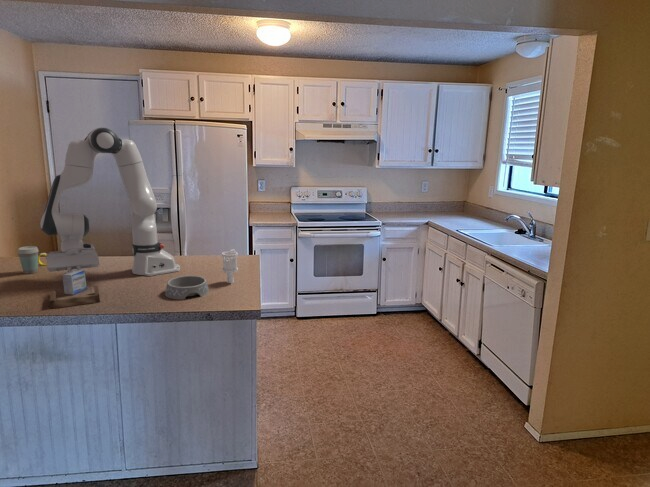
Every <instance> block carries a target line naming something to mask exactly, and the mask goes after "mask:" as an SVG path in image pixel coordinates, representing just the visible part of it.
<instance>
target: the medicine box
mask: <svg viewBox="0 0 650 487" xmlns="http://www.w3.org/2000/svg"><path fill="white" fill-rule="evenodd" d="M86 280H87V279H86V271H85V270H83V269H81V270H77V269H73V270H71V272H67V273H64V274H62V282H63V291H64V294H65V295H71V296H74V295H77V294H79V293H82V292H83V291H86V290H87V289H88V288H87V281H86Z"/></svg>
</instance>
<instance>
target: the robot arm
mask: <svg viewBox="0 0 650 487" xmlns="http://www.w3.org/2000/svg"><path fill="white" fill-rule="evenodd" d="M98 154H111V155H112V157H114V159H115V162H116V165H117V169H118V172H119V175H120V178H121V181H122V184H123V186H124V189H125V192H126V195H127V196H128V208H129V214H130V215H129V216H130V224H131V230H132V231H131V233H132V245H131V249H132V255H133V262H132V269H131V273H132V274H133V275H139V276H147V277H151V276H158V275H159V276H160V275H164V274H169V273H170V274H171V273H175V272H179V271H180V270H181V266H180V265H179V264H178V263H176V259H175V258H174V256H173V255H172V254H171V253H169V252H167V251H166V250H164V248H165V245H164V244H162V243H161V242H160V241H158V230H157V229H158V228H157V223H156V218H155V217H156V216H155V213H156V212H157V209H158V204H157V200H156V197H155V196H156V195H154V191H153V189H152V185H151V183H150V180H149V177H148V174H147V171H146V168H145V165H144V161H143V159H142V156H141V153H140V151H139V149H138V146H137V145H136V143H135V141H134V140H131V139H127V138H124V139H121V137H119V136H118V135H117V134H116V133H115V132H114V131H113V130H111V128H108V127H96V128H94V129H92V130H91V131H90V132H89V133H88V134H87V136H86V137H85V138H84V139H83V140H81V139H75V140H73V141H70V142H69V144H68V147H67V149H66V153H65V160H64V167H63V170H62V172H61V173H60V174H58V175H56V176H55V177H54V179H53V182H52V184H51V188H50V191H49V194H48V198H47V201H46V205H45V208H44V212H43V214H42V217H41V219H40V230H41V231H42V232H43V233H44V234H46V235H48V236H58V235H59V236H60V240H61V243H60V250H57V251H50V252H48V253H46V256H45V260H46V264H47V265H46V269H47V271H49V272H52V273H53V272H60V271H63V272H64V271H67V273H69V272H72V271H74V270H83V269H93V268H98V267H99V266H100V259H99V255H98V252H97V251H96V250H95V246H94V244H92V243H85V242H84V241H83V238H85V236H87V235H88V233H89V232H90V220H89V218H88V217H87V215H85V214H83V213H72V212H70V213H69V212H68V213H67V212H58V211H57V210H58V208H59V202H60V201H61V200H60V199H61V196H62V194H63V193H64V192H65V191H68V190H70V189H71V190H72V189H75V188H80V187H82V186H85V185H87V184H88V183H89V182H91V180H92V179H93V174H94V164H95V158H96V156H97V155H98Z"/></svg>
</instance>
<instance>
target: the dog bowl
mask: <svg viewBox="0 0 650 487" xmlns="http://www.w3.org/2000/svg"><path fill="white" fill-rule="evenodd" d="M209 292H210V288H209V286H208V282H207V279H206V278H205V277H203V276H200V275H199V276H198V275H182V276H181V275H180V276H177V277H172V278H171V279H169V280H168V281H167V282H166V288H165V293H164V295H165V297H166V298H169V299H172V300H186V297H194V296H197V295H199V296H200V298H201V297H204V296H206V295H208V293H209Z"/></svg>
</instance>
